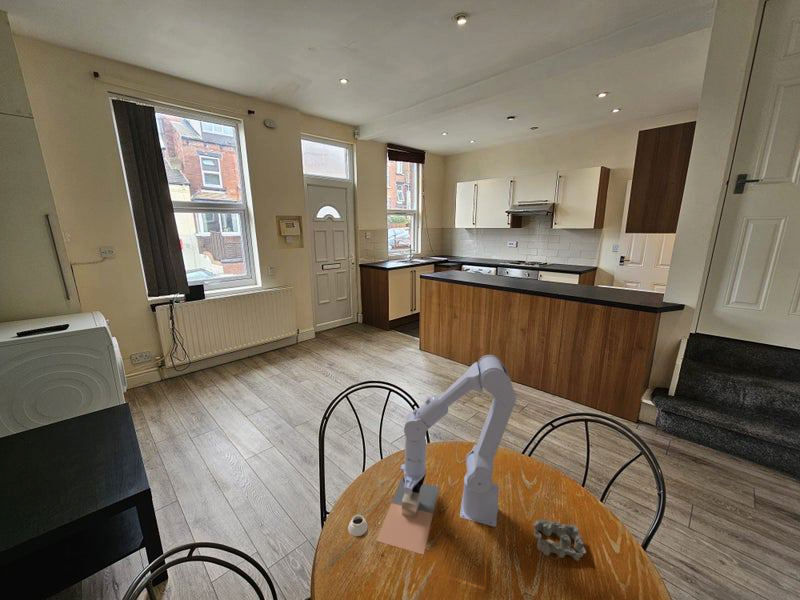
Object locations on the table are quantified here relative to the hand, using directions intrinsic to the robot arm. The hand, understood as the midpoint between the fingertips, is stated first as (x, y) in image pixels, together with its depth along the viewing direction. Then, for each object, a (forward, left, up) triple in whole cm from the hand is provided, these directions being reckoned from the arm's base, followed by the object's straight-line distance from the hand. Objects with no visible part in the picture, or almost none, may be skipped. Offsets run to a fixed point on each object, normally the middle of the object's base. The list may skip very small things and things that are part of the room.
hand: (414, 497), depth 91 cm
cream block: (0, +3, -1) cm, 3 cm away
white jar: (+12, +13, -2) cm, 17 cm away
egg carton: (-37, +2, -2) cm, 37 cm away
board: (0, +3, -2) cm, 3 cm away
